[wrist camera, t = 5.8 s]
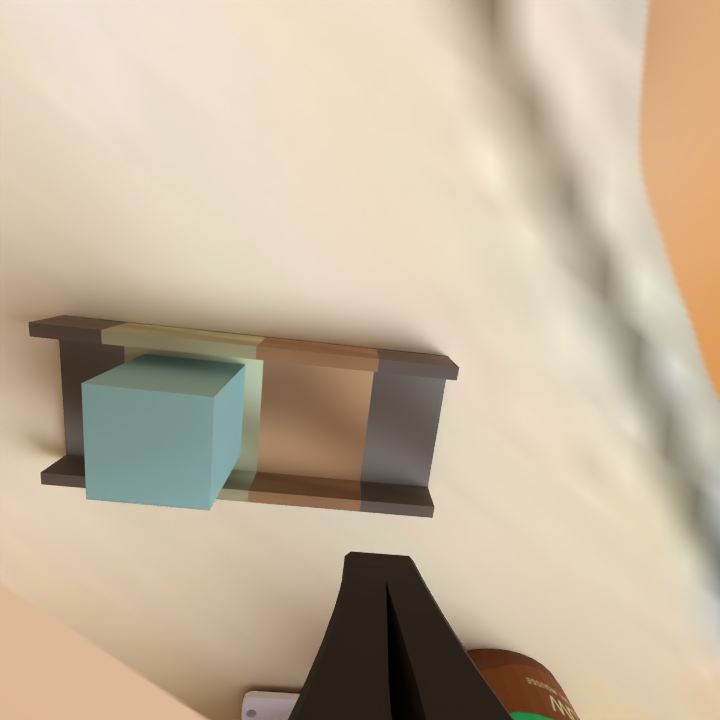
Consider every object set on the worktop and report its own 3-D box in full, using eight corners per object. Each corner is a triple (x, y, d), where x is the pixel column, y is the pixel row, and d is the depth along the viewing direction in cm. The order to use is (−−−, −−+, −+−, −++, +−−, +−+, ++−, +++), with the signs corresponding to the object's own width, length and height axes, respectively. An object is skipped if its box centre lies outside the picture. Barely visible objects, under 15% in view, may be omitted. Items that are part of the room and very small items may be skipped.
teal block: (240, 454, 18) (209, 510, 14) (145, 445, 17) (86, 499, 13) (245, 364, 17) (213, 397, 13) (145, 353, 16) (81, 382, 13)
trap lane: (424, 493, 19) (432, 517, 17) (71, 462, 18) (41, 484, 16) (447, 356, 17) (459, 367, 15) (62, 315, 16) (28, 322, 15)
